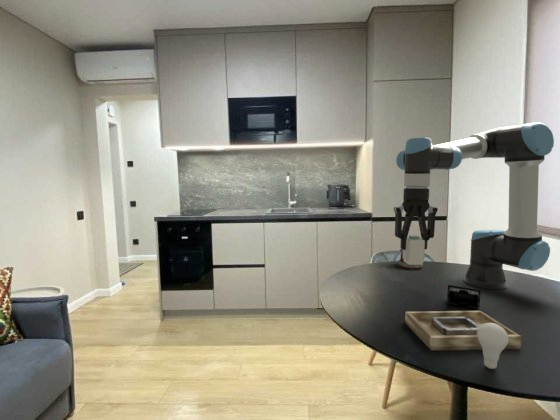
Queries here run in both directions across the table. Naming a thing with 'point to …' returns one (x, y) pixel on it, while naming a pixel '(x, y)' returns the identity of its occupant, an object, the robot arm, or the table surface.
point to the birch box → (437, 341)
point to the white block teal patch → (415, 251)
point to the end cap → (463, 298)
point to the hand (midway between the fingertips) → (413, 259)
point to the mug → (407, 266)
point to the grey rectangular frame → (462, 320)
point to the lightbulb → (492, 342)
